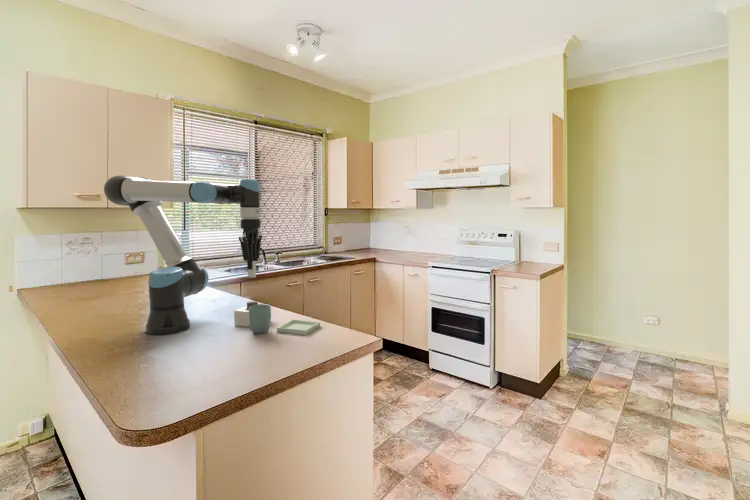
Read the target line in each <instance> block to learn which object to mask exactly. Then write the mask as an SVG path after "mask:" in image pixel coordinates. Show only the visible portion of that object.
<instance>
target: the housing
mask: <svg viewBox="0 0 750 500" xmlns="http://www.w3.org/2000/svg"><path fill="white" fill-rule="evenodd" d="M233 314H234V326H237V327H238V326H239V327H245V328H247V327H248V328H250V323H249V310H247V305H246V306H243V307H240V308H238V309H235V310H234V311H233Z"/></svg>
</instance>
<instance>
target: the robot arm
mask: <svg viewBox="0 0 750 500" xmlns="http://www.w3.org/2000/svg"><path fill="white" fill-rule="evenodd" d="M103 193H104V195H105V197H106V199H107V200H109V201H110V202H111V203H112V204H115V205H118V206H126V207H127V206H128V207H129V209H130V210H131V212H132V214H133V215H136V216H138V217H139V218H140V220H141V222H142V224H143V225H144V227H145V229H146V231H147V233H148V234H149V235H150V238H151V239H152V241H153V243H154V245H155V246H156V248H157V250H158V252H159V255H161V257H162V259H163V261H164V262H165V265H166V266H165V267H160V268H156V269H153V270H152V271H150V272H149V275H148V282H147V284H148V294H149V295H148V296H149V313H148V318H147V323H146V324H145V333H147V334H148V335H155V336H158V335H161V336H162V335H164V336H165V335H171V334H176V333H177V334H178V333H181V332H183V331H184V332H185V331H187V330H188V329H189V328H190V327H191V320H190V319H189V317H188V314H187V311H186V308H185V298H186V297H189V296H193V295H196V294H198V293H200V292H202V291H203V290H204V289H206V287H207V286H208V282H209V278H210V277H209V274H208V271H207V270H206V268H205V267H204V266H202V265H199V264H197V262H196V259H194V258H193V257H189V256H188V255H187V253H186V251H185V249H184V247H183V246H182V243H181V242H180V240H179V238H178V236H177V234H176V232H175V230H174V229H173V228H172V225H171V224H170V222H169V219H167V217H166V215H165V213H164V212H163V209H162V205H163V202H169V203H170V202H174V203H175V202H176V203H202V204H218V205H220V204H221V205H225V204H227V205H228V204H232V205H233V204H239V217H240V228H241V229H242V230H243V231H242V235H241V236H239V237H238V241H239V242H240V247H241V252H242V253H241V254H242V259H243V261H244V262H246V263H247V265H246V266H247V267H246V268H247V277H248V278H257V270H256V269H257V261H259V258H260V255H261V244H262V243H261V242H262V239H263V235H262V234H261V235H260V234H259V229H260V228H261V219H260V218H261V206H260V202H261V201H260V193H261V191H260V183H259V181H258V180H257V179H252V178H244V179H239V182H238V184H223V183H214V182H208V181H173V180H172V181H171V180H163V181H162V180H152V179H149V178H145V177H136V176H135V177H134V176H127V175H115V176H112V177H110V178H109V179H107V180H106V182H105V183H104V185H103Z"/></svg>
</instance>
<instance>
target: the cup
mask: <svg viewBox="0 0 750 500" xmlns="http://www.w3.org/2000/svg"><path fill="white" fill-rule="evenodd" d="M271 308H272V305H270V304H267V303H266V304H264V303H258V304H257V305H252V306H250V307H249V323H250V327H249V328H250V331H251V332H252V333H253V334H255V335H257V334H259V335H263V334H266V333H268V332H269V330H270V328H271V324H272V309H271Z"/></svg>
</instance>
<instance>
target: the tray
mask: <svg viewBox="0 0 750 500" xmlns="http://www.w3.org/2000/svg"><path fill="white" fill-rule="evenodd" d="M319 327H321V321H314V320H305V319H304V320H303V319H294V318H293V319H290V320H288V321H286V322H285V323H282V324H281V325H279V326H277V327H276V333H279V334H280V333H281V334H287V335H288V334H289V335H299V336H300V335H301V336H308V335H309V334H311V333H313V332H314V331H316V330H317V329H319Z"/></svg>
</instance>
